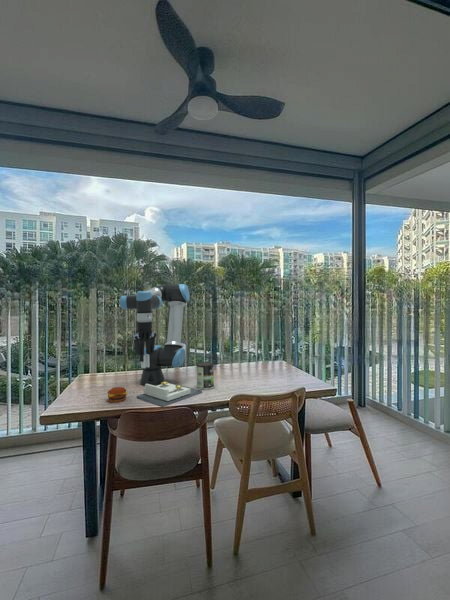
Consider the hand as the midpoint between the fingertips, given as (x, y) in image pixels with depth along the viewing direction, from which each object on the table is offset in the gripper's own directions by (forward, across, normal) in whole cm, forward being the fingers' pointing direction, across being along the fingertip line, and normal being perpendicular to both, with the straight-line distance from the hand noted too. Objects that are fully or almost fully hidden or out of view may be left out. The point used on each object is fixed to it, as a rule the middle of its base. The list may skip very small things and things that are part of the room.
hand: (145, 367), depth 155 cm
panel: (+17, +14, 0) cm, 22 cm away
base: (+18, +16, 0) cm, 24 cm away
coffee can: (+19, +39, -5) cm, 44 cm away
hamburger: (+19, -6, +17) cm, 26 cm away
